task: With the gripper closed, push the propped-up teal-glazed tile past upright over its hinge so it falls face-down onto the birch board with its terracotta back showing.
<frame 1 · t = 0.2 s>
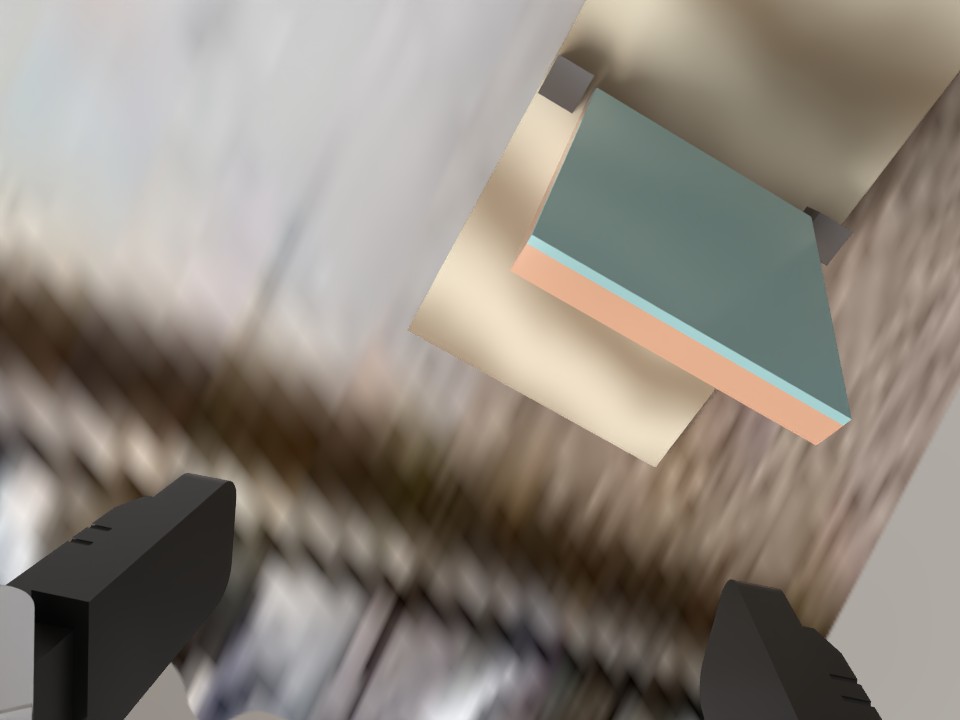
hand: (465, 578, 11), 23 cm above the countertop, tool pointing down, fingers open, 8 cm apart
tile: (690, 229, 24), point 8 cm above the countertop, hinge at 70.0°
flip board: (685, 157, 31), on the countertop
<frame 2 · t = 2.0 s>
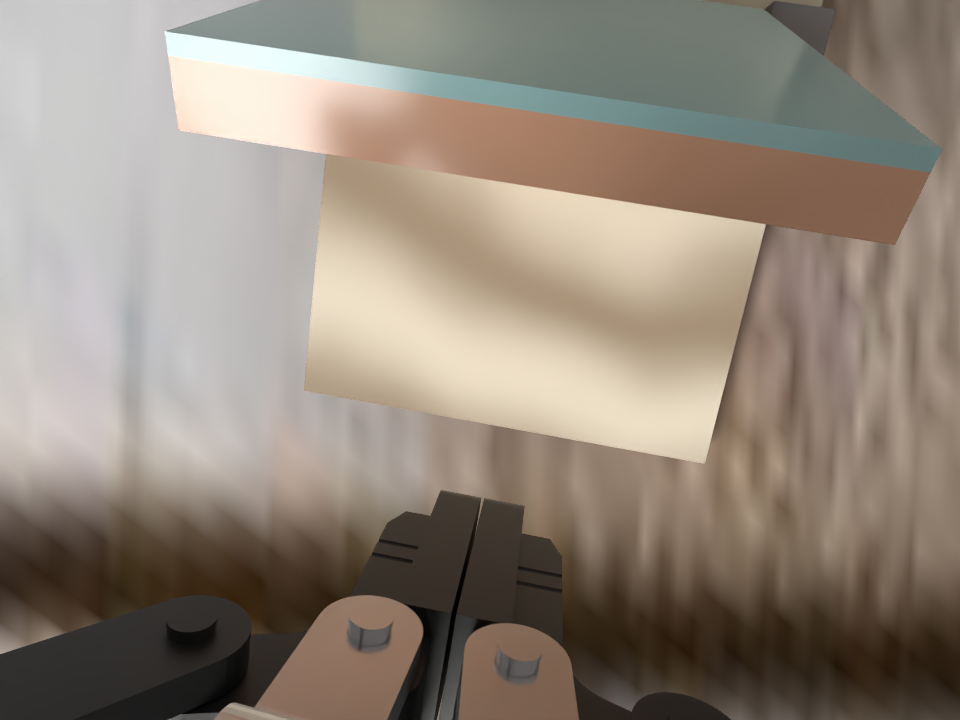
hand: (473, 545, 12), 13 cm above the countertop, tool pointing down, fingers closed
tile: (560, 45, 15), point 8 cm above the countertop, hinge at 70.0°
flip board: (569, 27, 22), on the countertop
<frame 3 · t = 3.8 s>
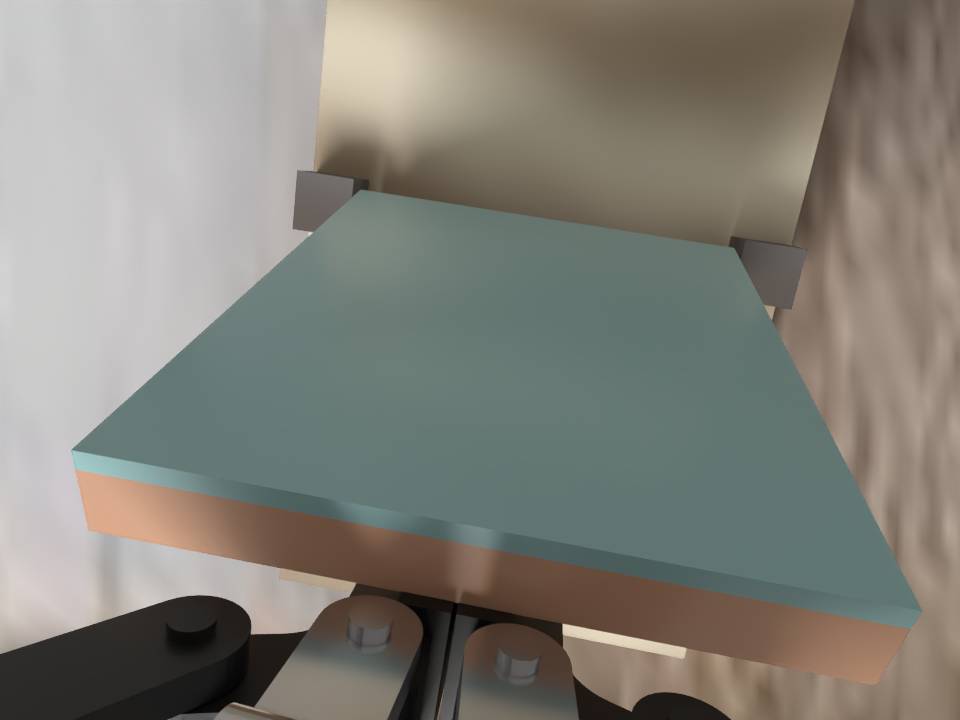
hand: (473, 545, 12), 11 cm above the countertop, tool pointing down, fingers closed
tile: (522, 327, 14), point 8 cm above the countertop, hinge at 75.3°, touching gripper
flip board: (542, 232, 22), on the countertop
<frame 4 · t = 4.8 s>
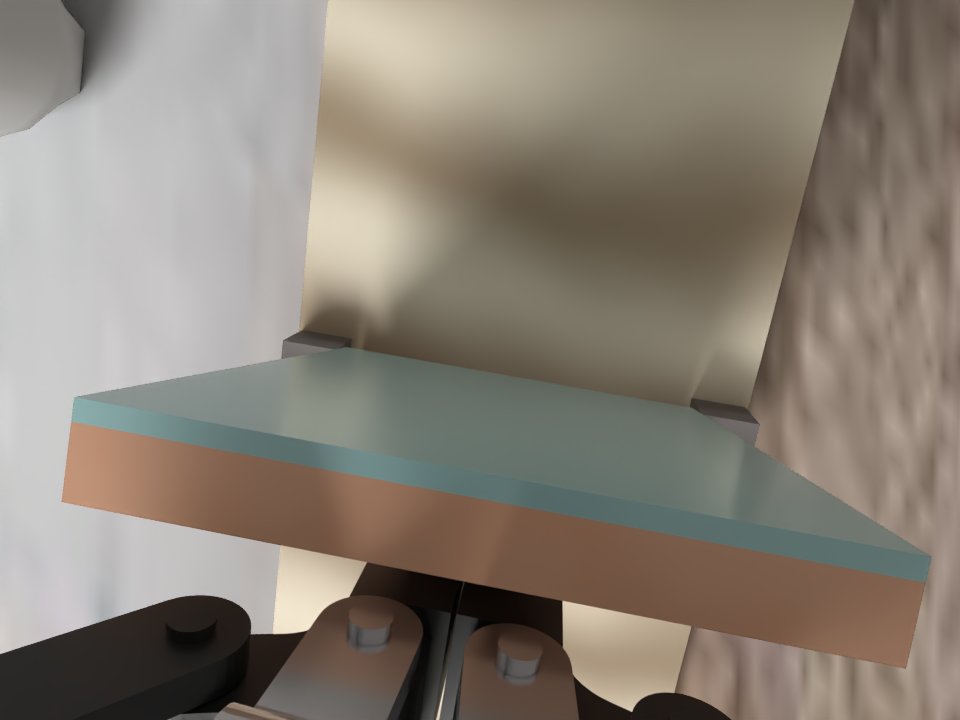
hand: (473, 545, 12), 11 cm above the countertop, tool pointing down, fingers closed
salt shaker: (31, 49, 22), on the countertop
tile: (503, 430, 15), point 8 cm above the countertop, hinge at 99.8°, touching gripper
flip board: (516, 382, 23), on the countertop
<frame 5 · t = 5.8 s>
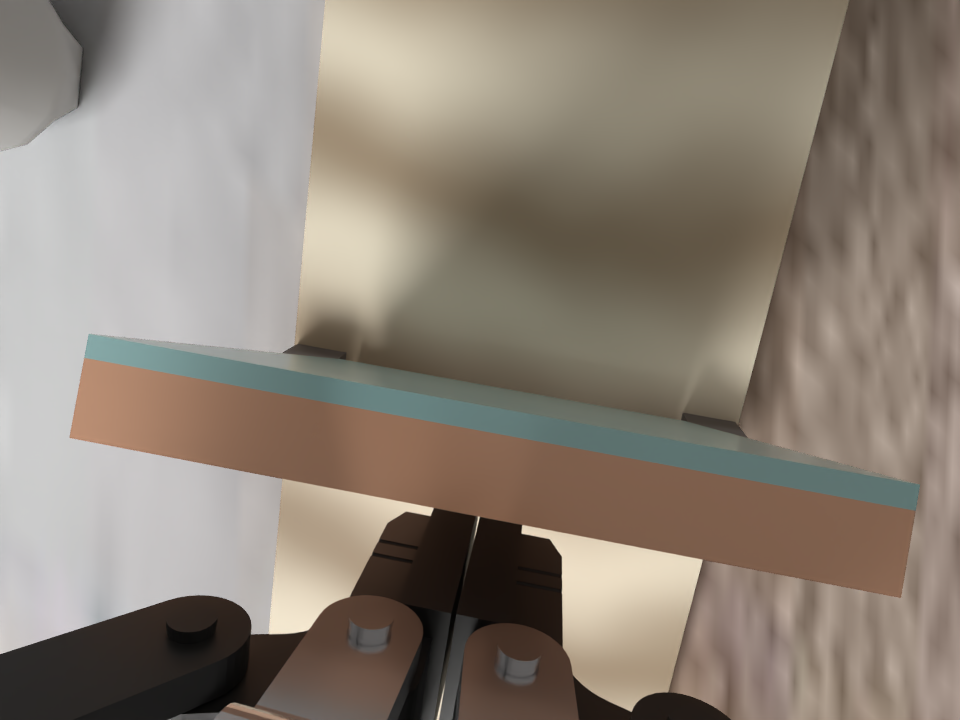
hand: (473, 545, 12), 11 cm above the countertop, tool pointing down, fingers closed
salt shaker: (29, 64, 22), on the countertop
tile: (498, 423, 15), point 8 cm above the countertop, hinge at 105.3°
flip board: (510, 395, 23), on the countertop
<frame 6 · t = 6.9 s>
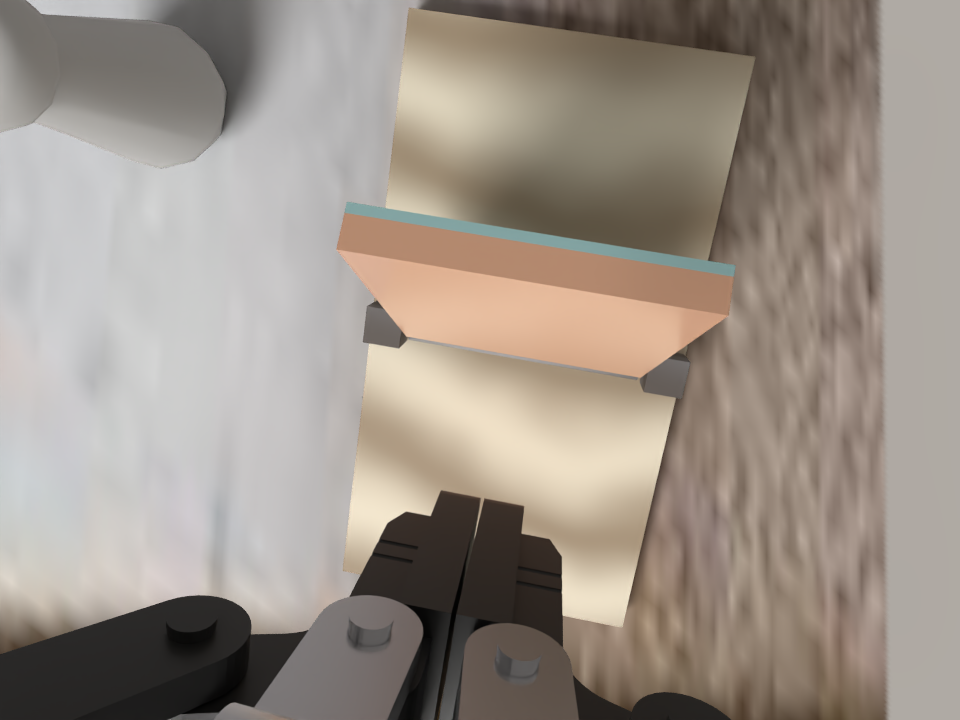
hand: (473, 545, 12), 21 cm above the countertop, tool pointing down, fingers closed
salt shaker: (187, 104, 32), on the countertop
tile: (527, 314, 24), point 8 cm above the countertop, hinge at 112.4°
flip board: (525, 338, 32), on the countertop
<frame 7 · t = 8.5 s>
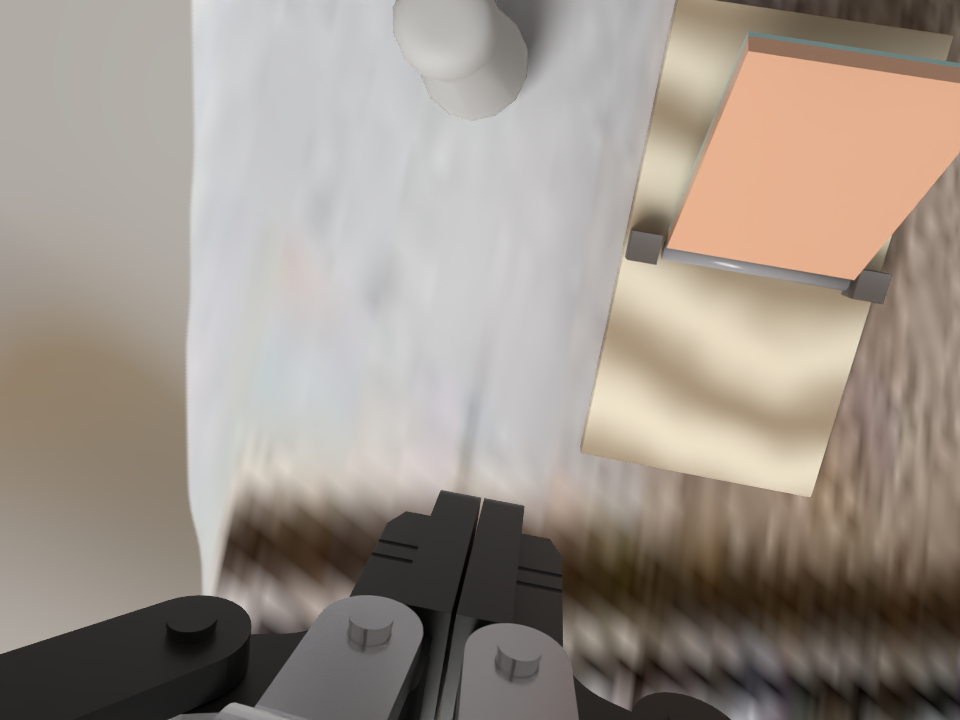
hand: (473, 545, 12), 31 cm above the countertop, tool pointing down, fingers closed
salt shaker: (478, 71, 40), on the countertop
tile: (802, 182, 33), point 6 cm above the countertop, hinge at 135.1°
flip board: (744, 262, 40), on the countertop
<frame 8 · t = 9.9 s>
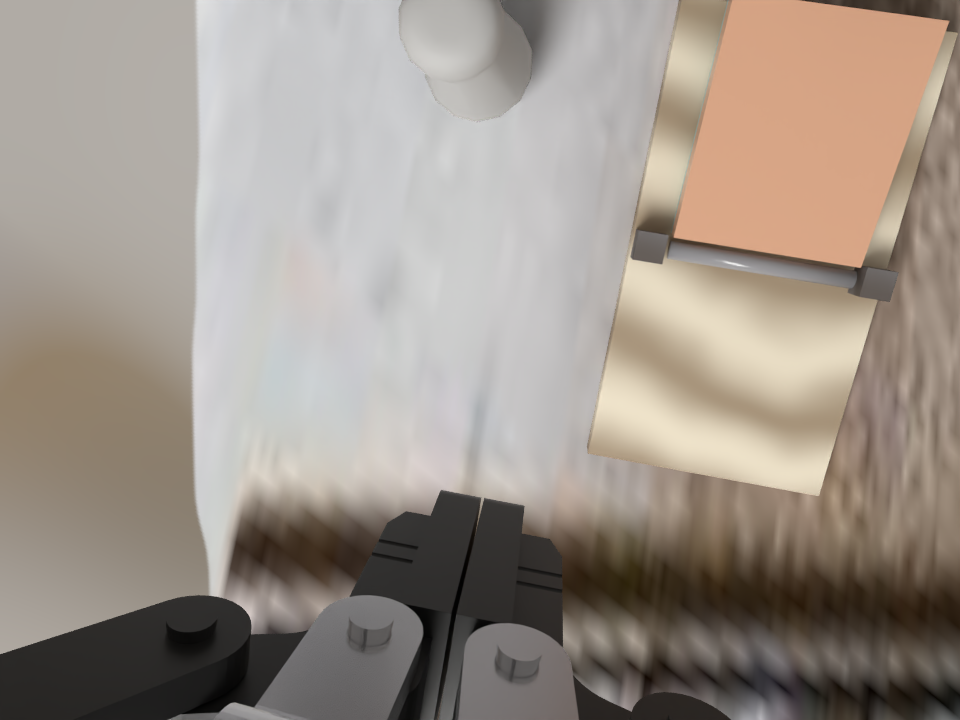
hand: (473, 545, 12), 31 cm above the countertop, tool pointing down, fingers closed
salt shaker: (483, 72, 40), on the countertop
tile: (793, 149, 36), point 3 cm above the countertop, hinge at 171.8°
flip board: (749, 260, 40), on the countertop
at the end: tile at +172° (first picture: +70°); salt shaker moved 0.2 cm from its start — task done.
